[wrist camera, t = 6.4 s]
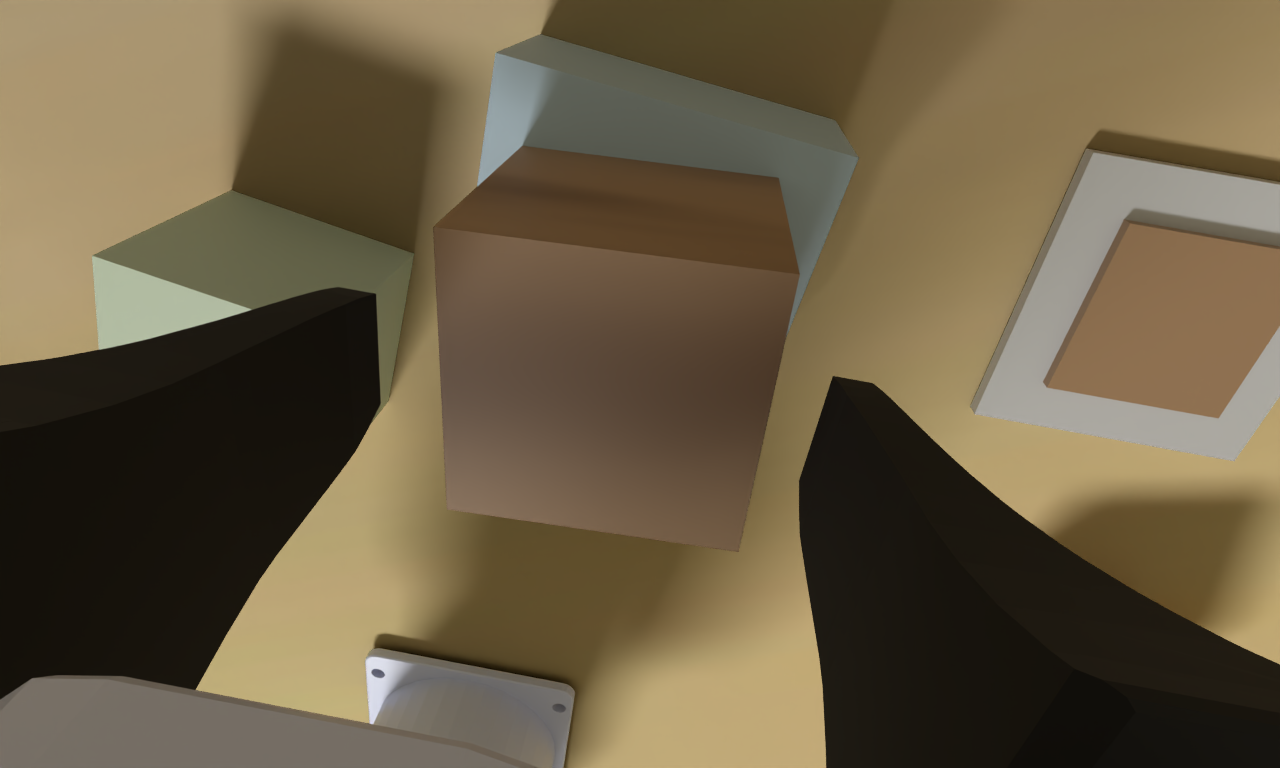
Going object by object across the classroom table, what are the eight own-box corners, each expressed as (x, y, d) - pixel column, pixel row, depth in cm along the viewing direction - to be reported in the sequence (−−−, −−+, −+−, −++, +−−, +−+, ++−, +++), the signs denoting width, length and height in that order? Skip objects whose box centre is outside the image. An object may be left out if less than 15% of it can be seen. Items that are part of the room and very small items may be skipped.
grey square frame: (1225, 452, 20) (1240, 467, 19) (970, 406, 20) (977, 420, 20) (1397, 202, 16) (1422, 211, 16) (1086, 148, 17) (1099, 155, 16)
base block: (739, 367, 21) (740, 449, 17) (498, 300, 21) (451, 370, 17) (833, 117, 17) (858, 157, 14) (543, 33, 17) (495, 52, 14)
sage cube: (389, 399, 22) (307, 505, 18) (228, 345, 22) (106, 440, 18) (415, 252, 20) (327, 335, 16) (233, 189, 20) (92, 255, 15)
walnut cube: (736, 398, 17) (738, 551, 12) (519, 368, 17) (447, 509, 13) (778, 177, 14) (799, 274, 10) (522, 145, 14) (433, 226, 10)
